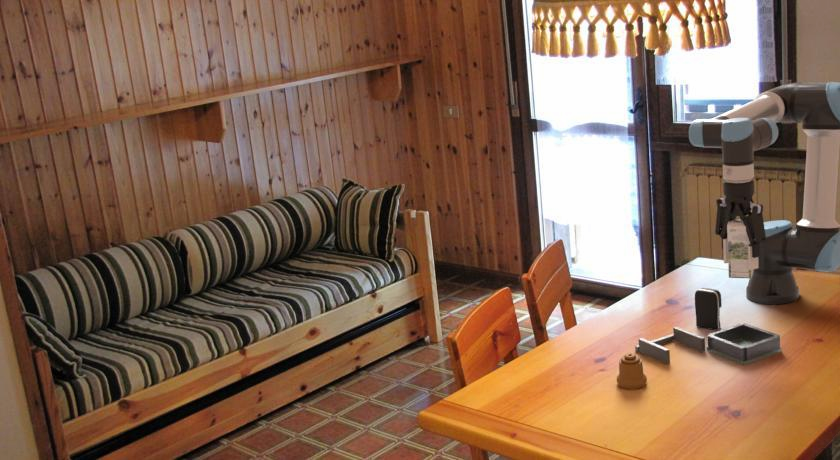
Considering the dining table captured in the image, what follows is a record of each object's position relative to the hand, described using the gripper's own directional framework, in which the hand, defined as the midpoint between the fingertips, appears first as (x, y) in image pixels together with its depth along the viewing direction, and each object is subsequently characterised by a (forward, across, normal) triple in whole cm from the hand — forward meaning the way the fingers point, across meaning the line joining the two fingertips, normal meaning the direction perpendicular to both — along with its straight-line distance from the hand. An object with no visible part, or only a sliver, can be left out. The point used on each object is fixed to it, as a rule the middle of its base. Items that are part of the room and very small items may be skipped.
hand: (740, 265), depth 242 cm
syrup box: (+3, 0, 0) cm, 3 cm away
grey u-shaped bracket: (+24, -12, -14) cm, 30 cm away
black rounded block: (+24, -19, +6) cm, 31 cm away
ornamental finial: (+24, -3, -35) cm, 43 cm away
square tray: (+24, 0, 0) cm, 24 cm away
